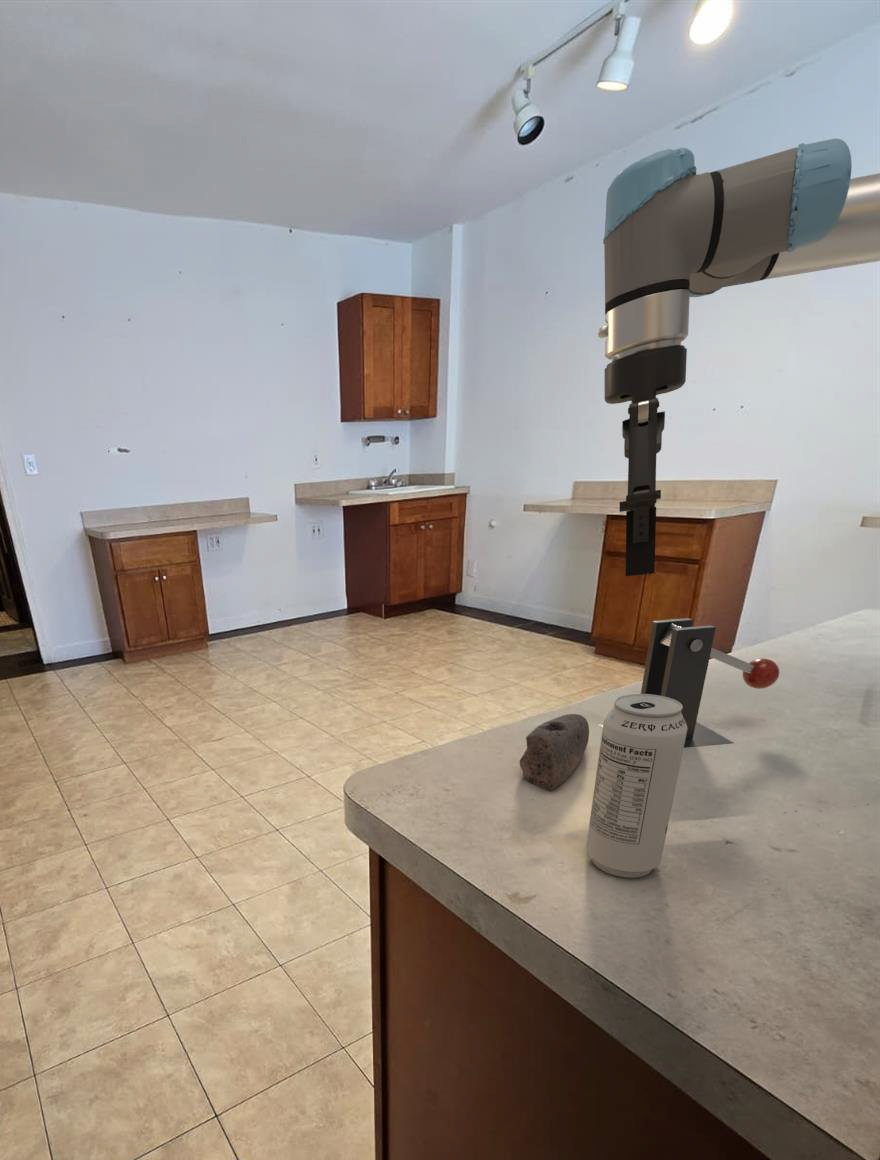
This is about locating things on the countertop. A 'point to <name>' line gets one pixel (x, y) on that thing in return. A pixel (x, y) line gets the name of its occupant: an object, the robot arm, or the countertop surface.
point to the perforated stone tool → (554, 750)
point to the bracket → (681, 673)
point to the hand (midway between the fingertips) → (640, 566)
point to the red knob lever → (741, 665)
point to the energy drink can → (635, 783)
